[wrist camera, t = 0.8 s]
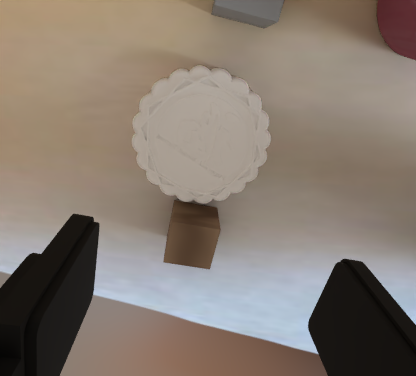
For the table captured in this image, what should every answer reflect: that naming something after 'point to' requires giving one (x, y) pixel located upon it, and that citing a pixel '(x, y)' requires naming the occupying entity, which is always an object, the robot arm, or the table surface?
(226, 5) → the slate-grey block
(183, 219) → the walnut block
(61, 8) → the table surface
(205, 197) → the mooncake
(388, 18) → the plant pot
